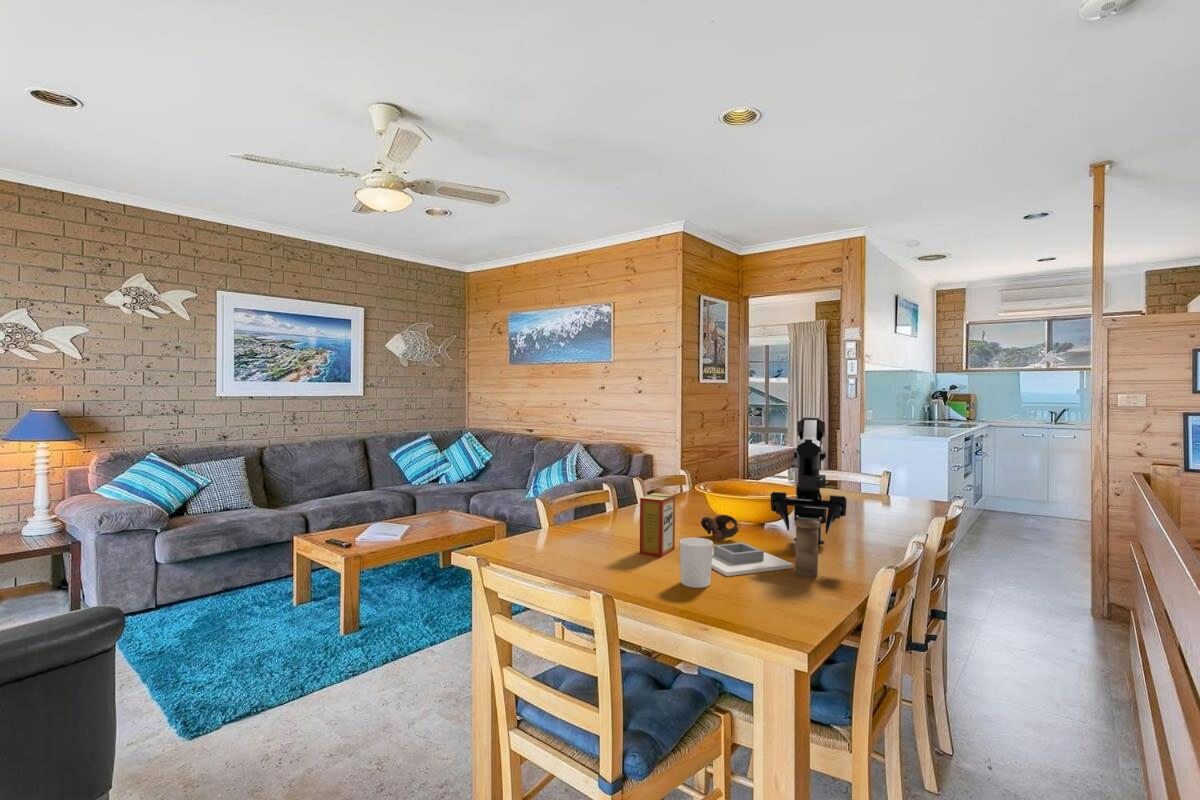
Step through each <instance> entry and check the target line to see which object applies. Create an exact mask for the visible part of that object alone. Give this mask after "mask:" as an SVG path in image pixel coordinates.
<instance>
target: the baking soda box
mask: <svg viewBox="0 0 1200 800" xmlns="http://www.w3.org/2000/svg"><path fill="white" fill-rule="evenodd" d="M675 525H676V494H668V493H667V494H666V493H658V492H657V493H656V492H653V493H651V494H647V495H645V496H643V497H642V496H641V497H640V498H639V555H643V556H649V557H655V558H663V557H664V556H667V554H669V553H671V552H673V551H675V546H676V545H675V544H676V543H675V539H676V537H675V535H676V532H675V531H676V530H675V529H676V528H675V527H676V526H675Z"/></svg>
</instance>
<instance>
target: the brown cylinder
mask: <svg viewBox="0 0 1200 800" xmlns="http://www.w3.org/2000/svg"><path fill="white" fill-rule="evenodd" d="M794 526H795V527H796V528H795V536H796V537H795V538H796V540H795V574H796V575H798V576H801V577H808V578H812V577H817V576H818V575H819V574H818V566H819V565H818V564H819V560H818V559H819V543H818V528H819V527H820V522H818V521H815V520H808V519H798V520H795V522H794Z"/></svg>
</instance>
